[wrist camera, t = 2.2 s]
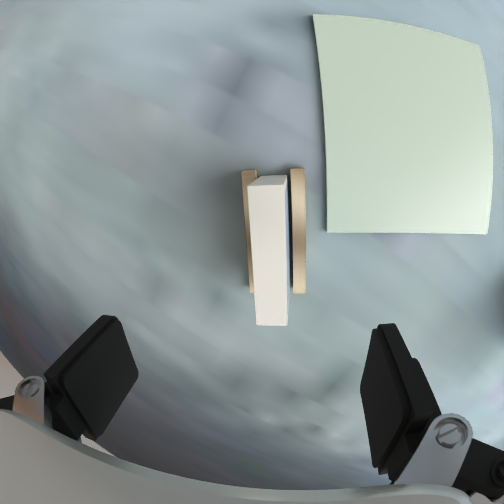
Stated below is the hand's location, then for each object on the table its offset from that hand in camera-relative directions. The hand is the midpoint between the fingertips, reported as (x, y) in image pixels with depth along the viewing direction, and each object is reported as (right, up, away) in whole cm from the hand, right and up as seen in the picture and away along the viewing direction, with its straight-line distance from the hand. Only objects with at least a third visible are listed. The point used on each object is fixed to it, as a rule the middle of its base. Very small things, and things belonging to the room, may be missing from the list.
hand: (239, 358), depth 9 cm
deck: (+2, +5, +13) cm, 15 cm away
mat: (+14, +14, +8) cm, 21 cm away
